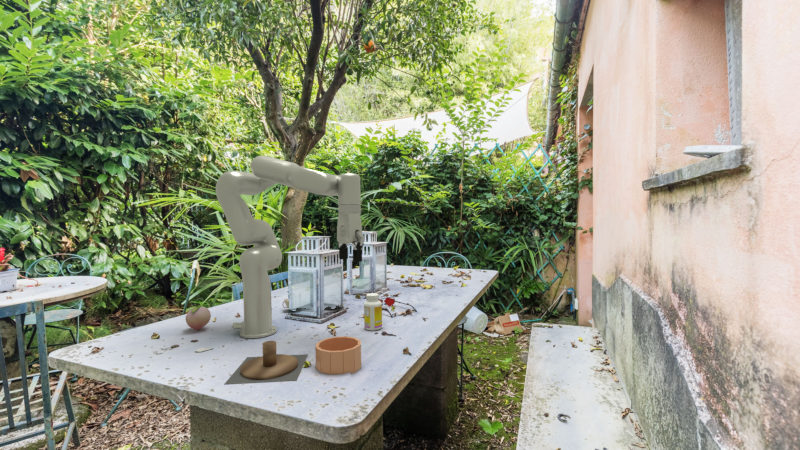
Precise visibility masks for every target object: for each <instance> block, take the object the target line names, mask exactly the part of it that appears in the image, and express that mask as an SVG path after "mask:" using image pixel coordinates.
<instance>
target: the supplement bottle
mask: <svg viewBox="0 0 800 450" xmlns="http://www.w3.org/2000/svg"><path fill="white" fill-rule="evenodd" d="M379 297H380V294H379V293H376V292H375V293H373V292H371V293H367V294H366V301H364V303H363V314H364V315H363V316H364V317H363V320H364V321H363V323H364V324H363V325H364V329H365V330H367V331H370V332H371V331H379V330H381V329H382V328H383V310H382V309H383V305H382V304H383V302H382V303H381V301H379V300H378V299H380V298H379Z"/></svg>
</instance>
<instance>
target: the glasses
mask: <svg viewBox="0 0 800 450" xmlns="http://www.w3.org/2000/svg"><path fill="white" fill-rule="evenodd" d="M378 300H379V301H381V303H382V306H383V305H386V306H388V307H390V306H391V305H392V306H393V305H394V304H395V303H399V304H402V305H406V306H410V307H412V309H413V310H414V311H415V313H418V311H417V309H416V308H415V307H414V306H413V305H411V304H409V303H404V302H400V301H397V300H396V299H395V297H394V296H392V297H391V296H389V297H388V296H387V297H384V298H382V299H381V298H378ZM382 300H384V301H382ZM383 302H384V304H383ZM392 306H391V307H392ZM391 307H390V308H391ZM382 311H386V312H387V313H388V315H390V317H391V318H392V319H393V318H394V316H393V315H392V314H391V312H390V311H389V310H388V309H385V308H382Z"/></svg>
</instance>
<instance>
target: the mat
mask: <svg viewBox="0 0 800 450" xmlns="http://www.w3.org/2000/svg"><path fill="white" fill-rule="evenodd" d="M290 355H291V356H294V357H296V358H297V360H298V367H297V368H296V369H295V370H294V371H292V372H291V373H289V374H287V375H284V376H281V377H278V378H273V379H267V380H252V379H247V378H245V377H243V376H242V375H241V366H242V365H243V364H244V363H246V362H248V361H250V360H252V359H254V358H257V357H258V356H247V357H246V358H245V359H244V360H243V362H242V363H241V364H240V365H239V366H238V367H237V369H235V371H233V373H232V374H231V376H229V378H228V379H227V380H226V381H225V382H224V383H223V385H228V386H229V385H240V384H241V385H242V384H243V385H244V384H245V385H246V384H260V383H261V384H262V383H263V384H264V383H280V382H281V383H282V382H297V381H298V379H299V377H300V375H301V372H302V369H303V368H304V365H305V363H306V361H307V358H308V357H309V354H308V353H307V354H290Z"/></svg>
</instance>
